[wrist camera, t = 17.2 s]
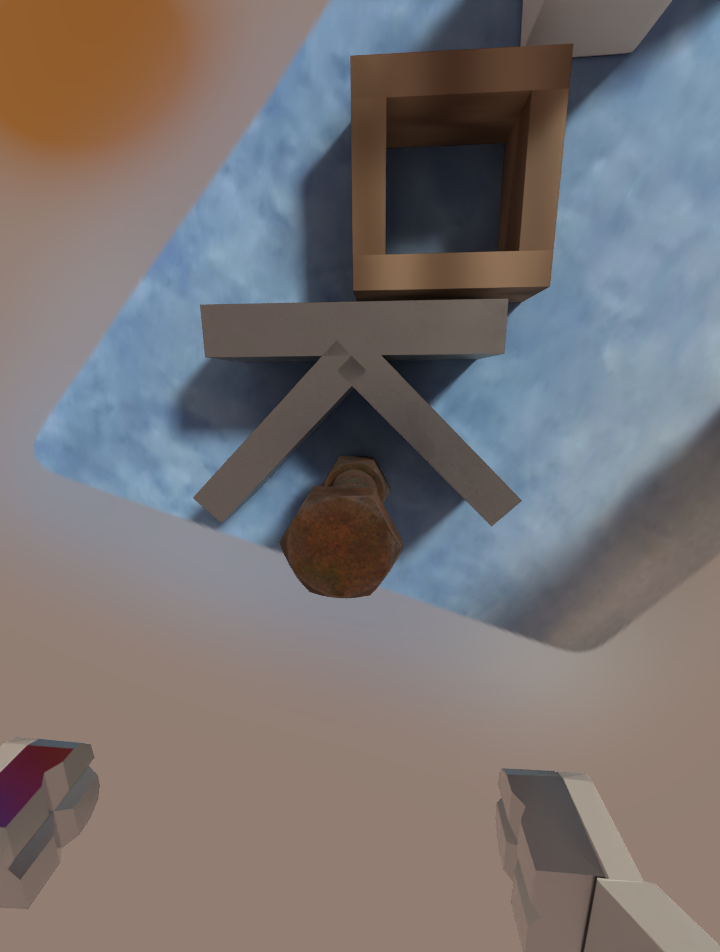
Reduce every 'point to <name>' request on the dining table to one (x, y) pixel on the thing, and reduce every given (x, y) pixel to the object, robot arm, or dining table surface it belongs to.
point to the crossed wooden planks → (355, 383)
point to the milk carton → (590, 24)
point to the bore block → (461, 123)
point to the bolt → (344, 532)
